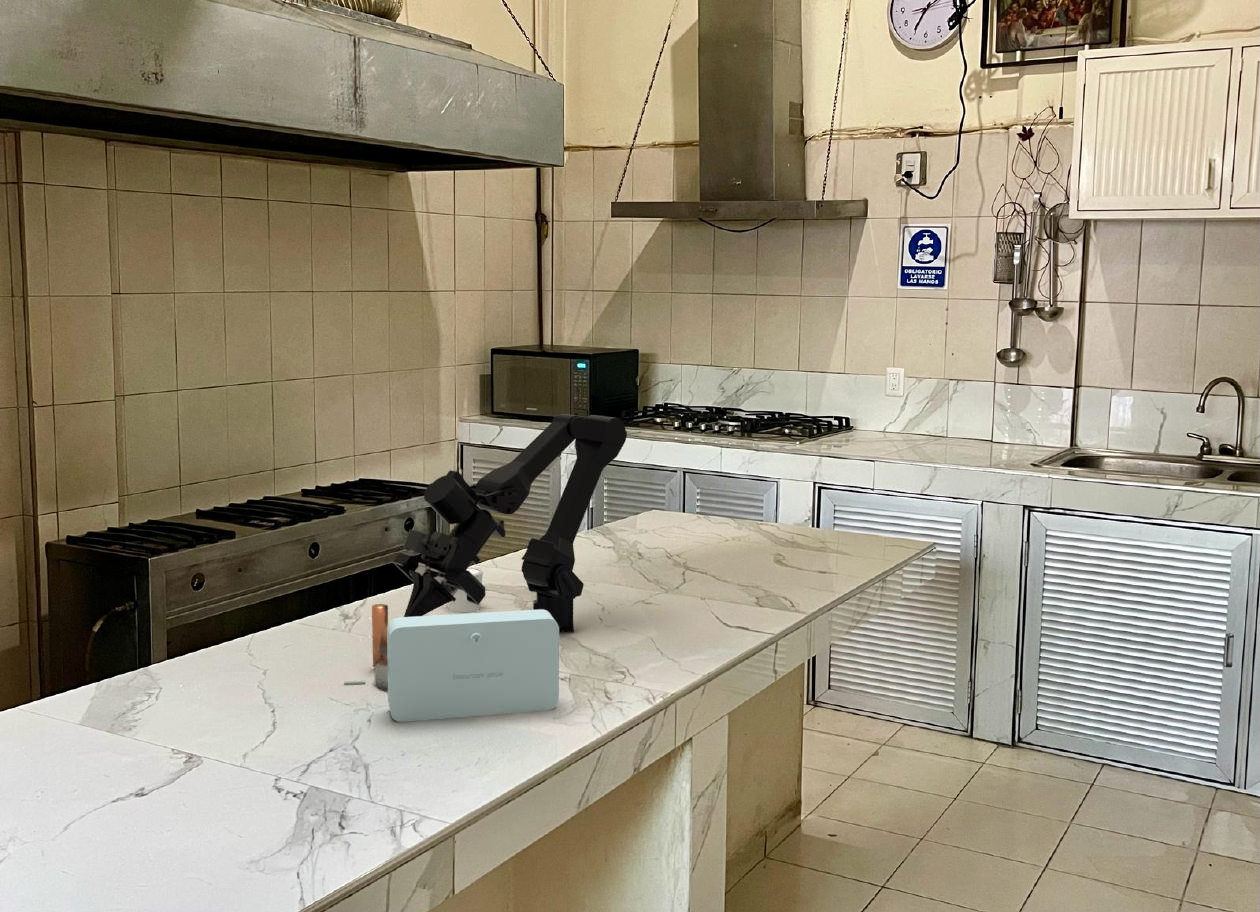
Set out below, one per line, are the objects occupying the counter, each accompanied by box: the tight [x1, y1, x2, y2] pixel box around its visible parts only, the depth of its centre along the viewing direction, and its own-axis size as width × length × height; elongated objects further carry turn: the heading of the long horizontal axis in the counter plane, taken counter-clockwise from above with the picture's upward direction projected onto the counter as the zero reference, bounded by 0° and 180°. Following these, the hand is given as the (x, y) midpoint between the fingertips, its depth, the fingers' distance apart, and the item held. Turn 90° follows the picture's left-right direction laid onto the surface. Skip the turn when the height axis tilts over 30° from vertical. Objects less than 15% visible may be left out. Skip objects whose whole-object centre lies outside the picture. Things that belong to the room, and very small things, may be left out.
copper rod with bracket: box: [371, 603, 389, 669], centre depth 184 cm, size 7×2×10 cm, turn 43°
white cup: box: [447, 567, 484, 614], centre depth 222 cm, size 7×7×7 cm
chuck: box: [374, 659, 388, 692], centre depth 180 cm, size 10×10×7 cm
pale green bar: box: [343, 680, 366, 686], centre depth 180 cm, size 3×1×1 cm, turn 98°
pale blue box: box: [387, 609, 560, 723], centre depth 168 cm, size 23×6×13 cm, turn 105°
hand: (406, 620), depth 188 cm, fingers closed
